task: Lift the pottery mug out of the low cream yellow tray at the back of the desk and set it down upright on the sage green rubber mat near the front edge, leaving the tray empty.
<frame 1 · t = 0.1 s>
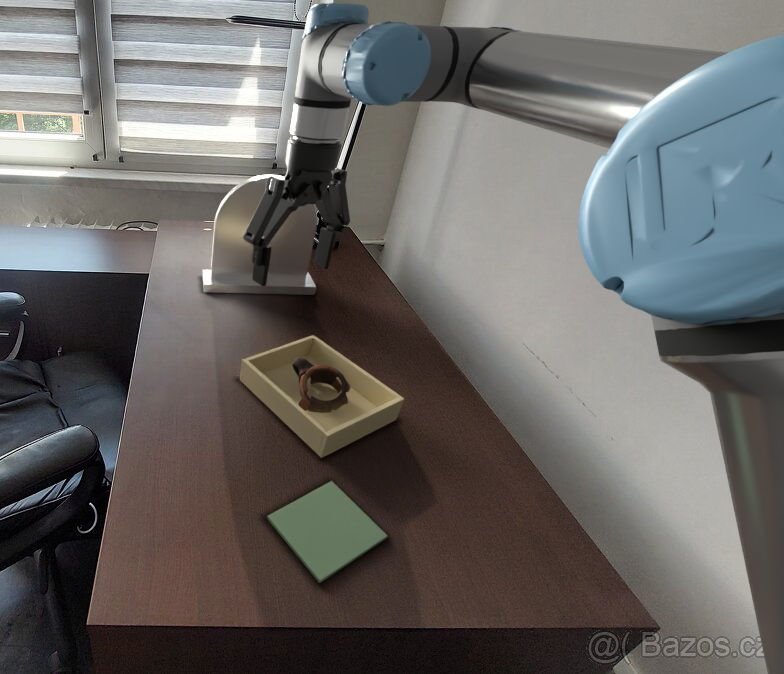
hand: (291, 274, 77), 21 cm above the table, tool pointing down, fingers open, 13 cm apart
mat: (325, 528, 61), on the table
award: (256, 286, 118), on the table
cream yellow tray: (314, 398, 82), on the table
pottery mug: (314, 397, 82), resting on cream yellow tray
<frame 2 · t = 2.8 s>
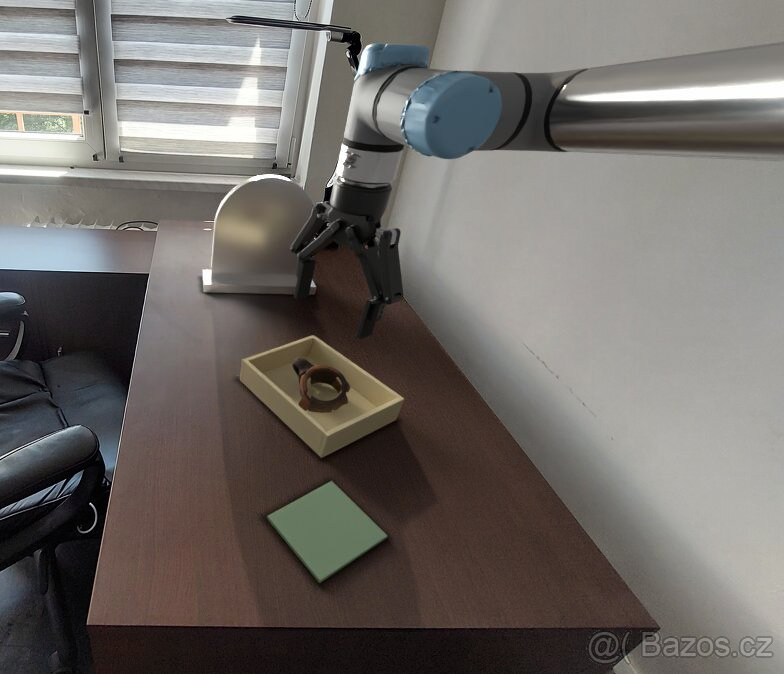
hand: (330, 315, 73), 17 cm above the table, tool pointing down, fingers open, 13 cm apart
nothing on the table moved.
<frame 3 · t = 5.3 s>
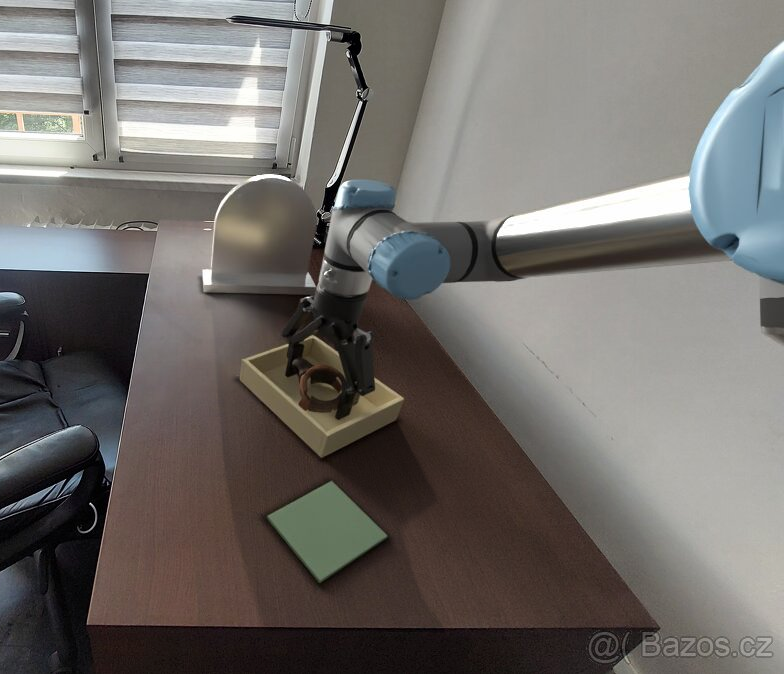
hand: (315, 394, 82), 1 cm above the table, tool pointing down, fingers closed on pottery mug, 12 cm apart
pottery mug: (314, 397, 82), resting on cream yellow tray, touching gripper
everything else where it was.
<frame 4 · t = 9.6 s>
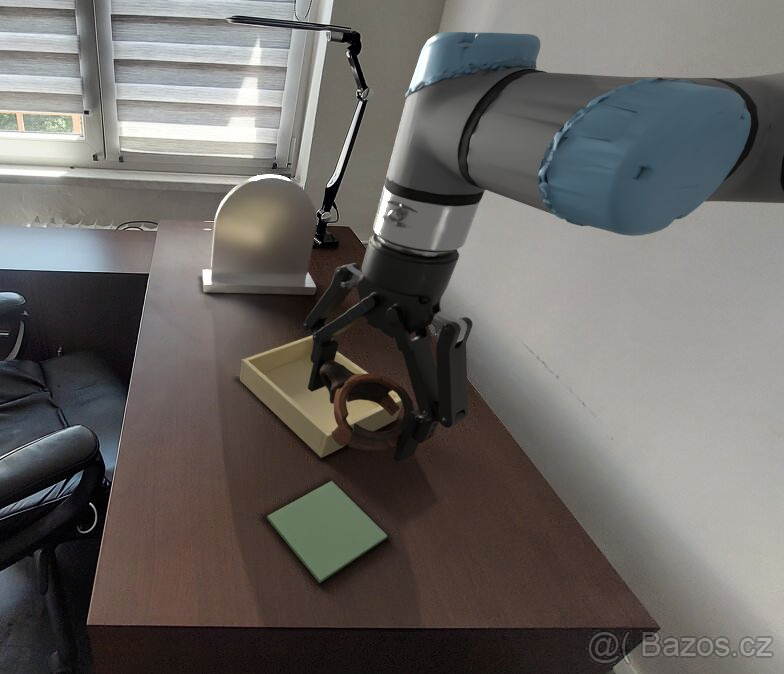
hand: (356, 418, 53), 18 cm above the table, tool pointing down, fingers closed on pottery mug, 12 cm apart
pottery mug: (354, 423, 53), point 17 cm above the table, touching gripper
everything else where it was.
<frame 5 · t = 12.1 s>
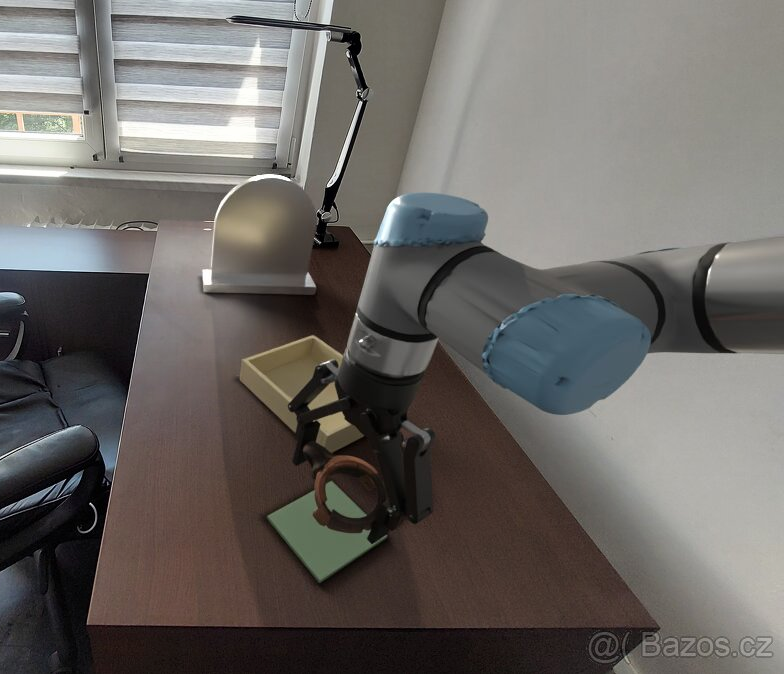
hand: (336, 495, 57), 7 cm above the table, tool pointing down, fingers closed on pottery mug, 12 cm apart
pottery mug: (334, 499, 57), point 6 cm above the table, touching gripper
everything else where it was.
when the fingers open (1 cm above the table, at t = 14.1 s): pottery mug stays where it is, resting on mat.
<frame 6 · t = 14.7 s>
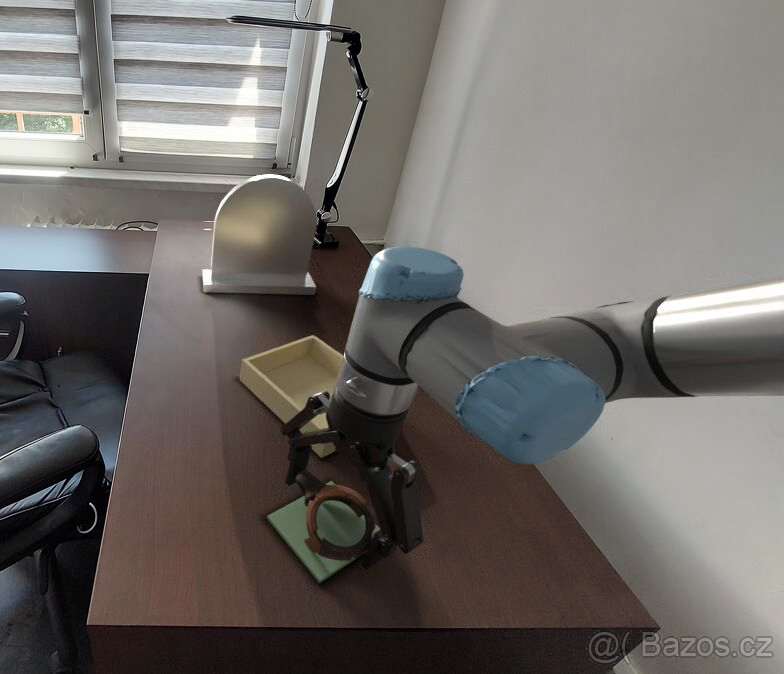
hand: (329, 518, 59), 2 cm above the table, tool pointing down, fingers open, 13 cm apart
pottery mug: (326, 526, 61), resting on mat
everything else where it was.
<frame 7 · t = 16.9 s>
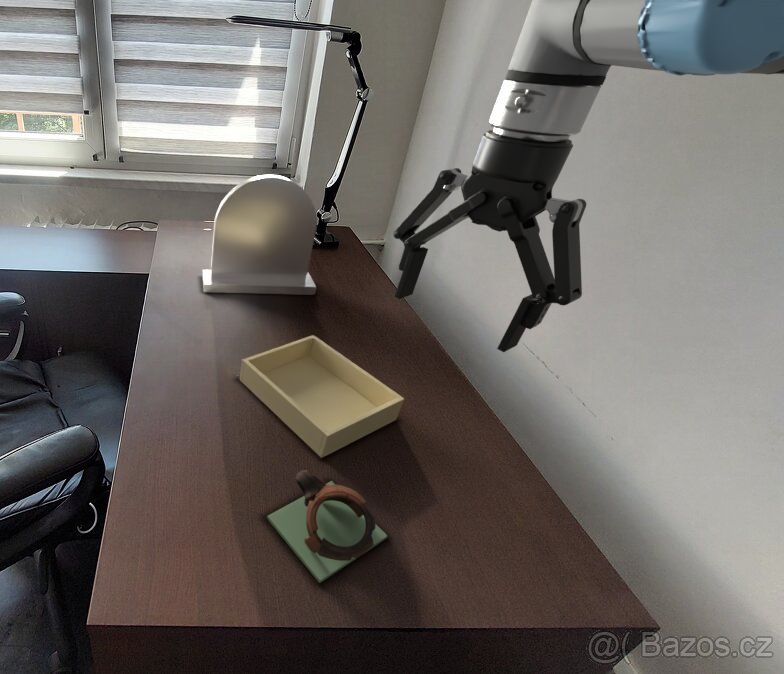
hand: (450, 319, 56), 26 cm above the table, tool pointing down, fingers open, 13 cm apart
nothing on the table moved.
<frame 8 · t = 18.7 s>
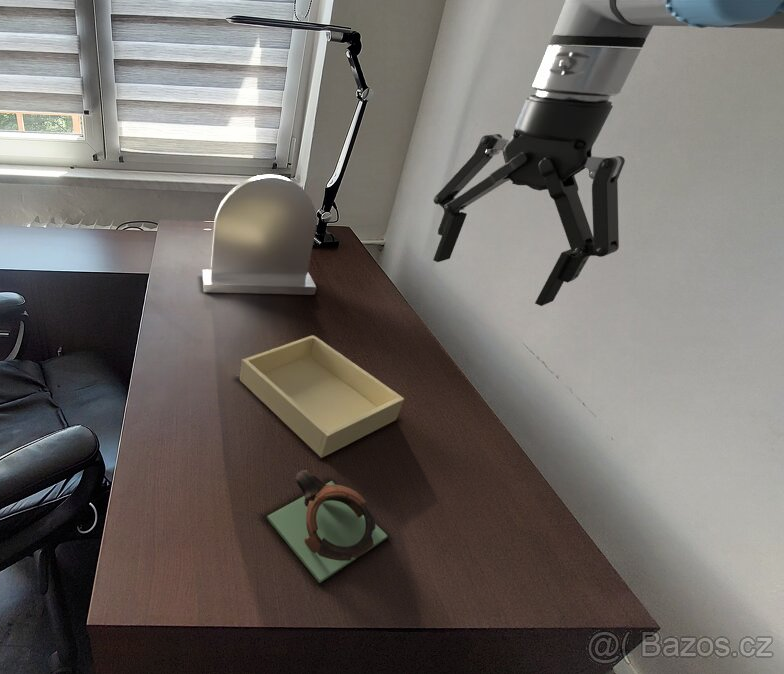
hand: (488, 279, 59), 29 cm above the table, tool pointing down, fingers open, 13 cm apart
nothing on the table moved.
at the end: pottery mug inside the target area on the mat (0.0 cm from its centre), point 0.4 cm above the mat's base; pottery mug tilted 0°; pottery mug touching mat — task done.
